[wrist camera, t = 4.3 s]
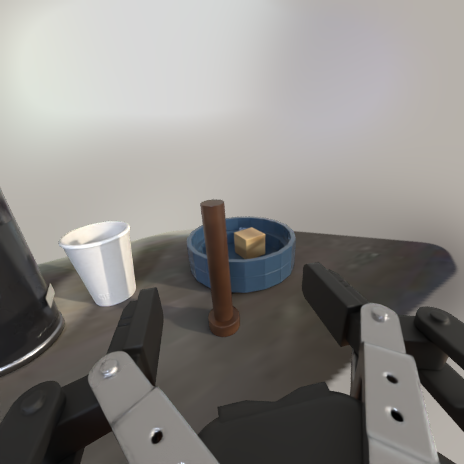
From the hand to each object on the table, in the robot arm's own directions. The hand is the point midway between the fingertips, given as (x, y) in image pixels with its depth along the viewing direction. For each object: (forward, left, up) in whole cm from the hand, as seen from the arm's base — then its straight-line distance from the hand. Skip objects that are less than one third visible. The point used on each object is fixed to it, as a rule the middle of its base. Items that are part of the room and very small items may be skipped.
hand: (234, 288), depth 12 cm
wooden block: (+7, +25, -12) cm, 29 cm away
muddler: (0, +10, -13) cm, 17 cm away
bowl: (+5, +23, -13) cm, 27 cm away
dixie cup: (-15, +20, -13) cm, 29 cm away
